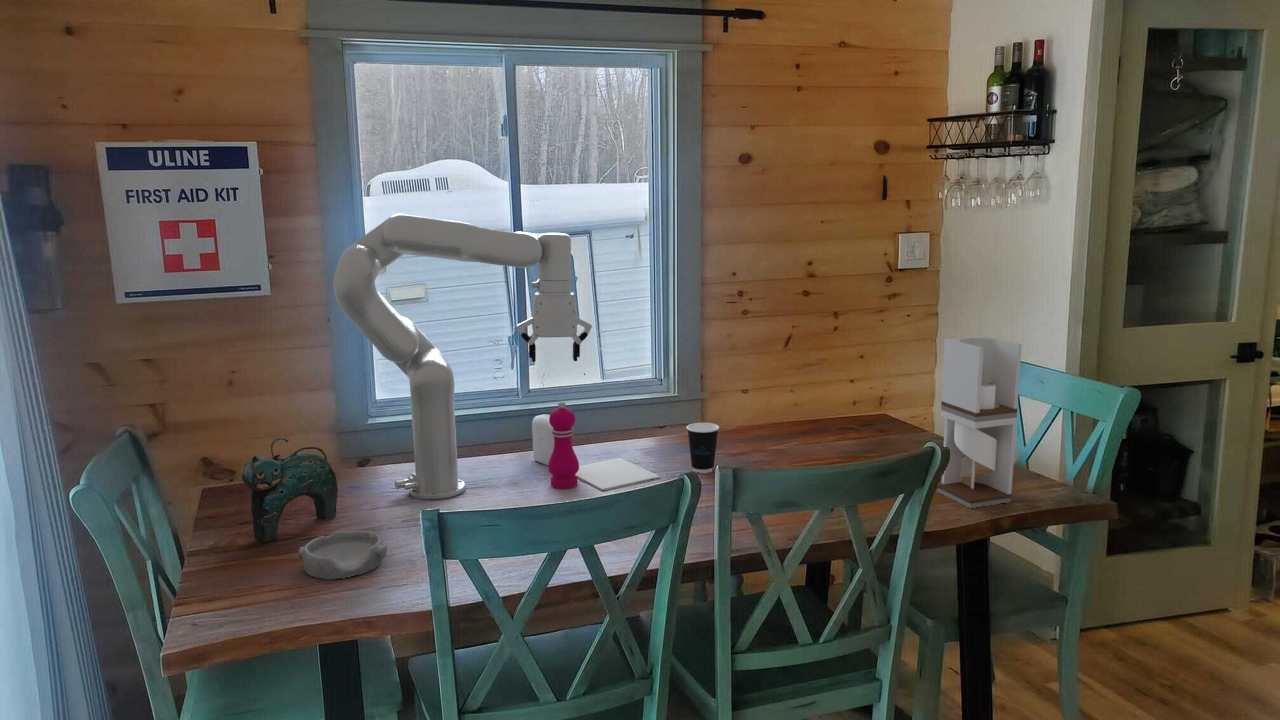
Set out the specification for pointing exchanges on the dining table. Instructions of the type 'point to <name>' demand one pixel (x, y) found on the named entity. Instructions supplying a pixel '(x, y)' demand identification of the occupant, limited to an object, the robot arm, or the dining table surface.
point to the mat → (613, 474)
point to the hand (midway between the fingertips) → (554, 360)
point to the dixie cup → (702, 446)
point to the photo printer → (542, 439)
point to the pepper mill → (563, 449)
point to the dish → (342, 554)
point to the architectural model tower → (980, 418)
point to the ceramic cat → (288, 487)
